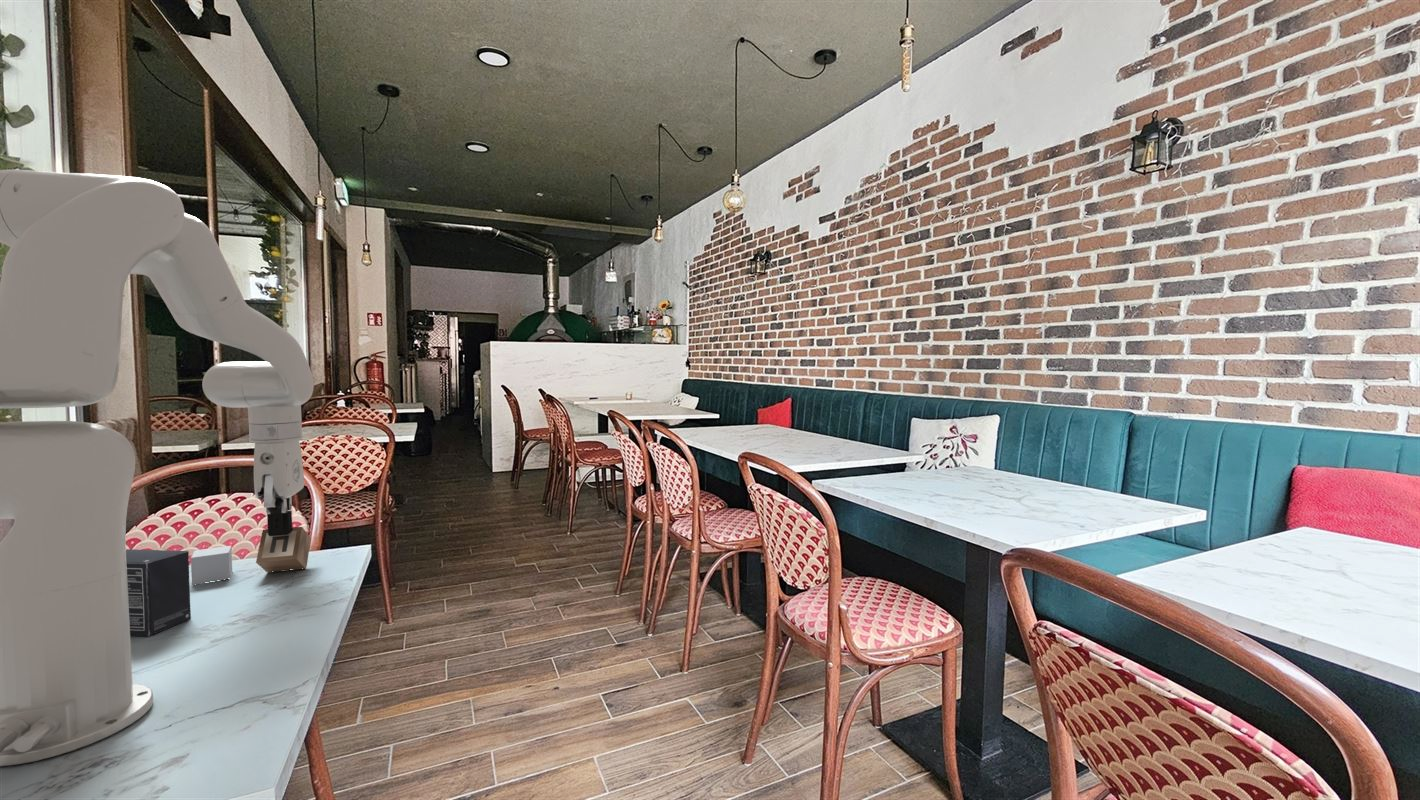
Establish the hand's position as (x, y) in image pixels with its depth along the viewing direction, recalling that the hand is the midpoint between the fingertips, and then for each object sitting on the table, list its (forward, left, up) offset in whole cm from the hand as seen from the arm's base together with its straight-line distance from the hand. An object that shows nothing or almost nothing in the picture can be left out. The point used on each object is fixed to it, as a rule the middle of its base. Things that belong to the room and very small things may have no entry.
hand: (280, 534), depth 104 cm
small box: (-18, +12, -8) cm, 23 cm away
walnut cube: (0, 0, -2) cm, 2 cm away
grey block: (+2, +11, -8) cm, 14 cm away
